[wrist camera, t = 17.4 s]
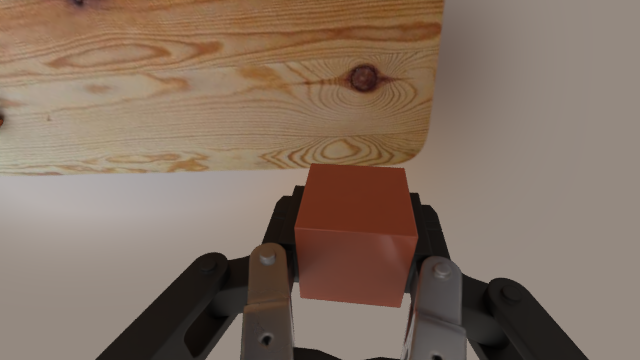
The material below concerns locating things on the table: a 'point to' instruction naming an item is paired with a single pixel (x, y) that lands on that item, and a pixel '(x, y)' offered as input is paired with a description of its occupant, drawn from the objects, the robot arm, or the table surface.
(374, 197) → the block
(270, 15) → the table surface
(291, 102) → the table surface
